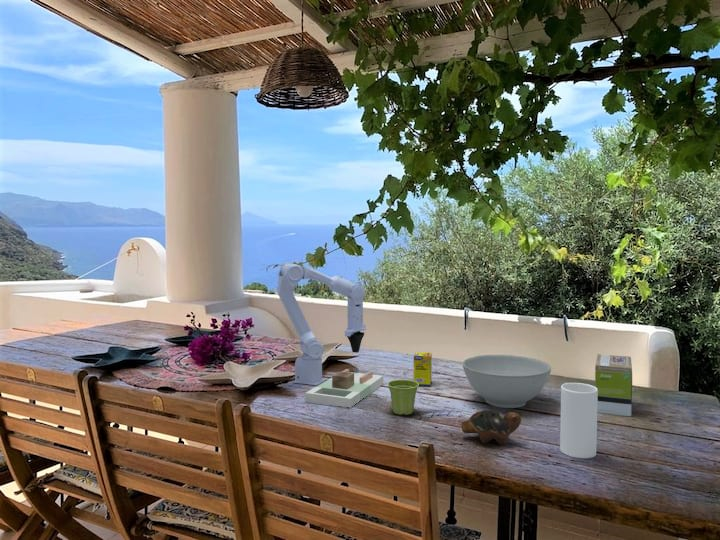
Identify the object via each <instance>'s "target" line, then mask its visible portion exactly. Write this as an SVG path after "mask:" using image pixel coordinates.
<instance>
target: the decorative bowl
mask: <svg viewBox="0 0 720 540" xmlns="http://www.w3.org/2000/svg"><path fill="white" fill-rule="evenodd" d="M462 367H463V371H464V374H465V376H466V379H467V381H468V382H469V385H470V386H471V387H472V388H473V390H474V391H475V392H476V393H477V394H478V395H480V396H481V397H482V398H484V400H485V402H486V404H488V405H491V406H493V407H498V408H504V409H515V408H516V409H518V408H522V407H525V406H526V405H527V402H528V401H530V400H532V399H533V398H535V397H536V396H537V395H539V394H540V392H541V391H542V390H543V389H544V387H545V385H547V382H548V380H549V377H550V375H551V371H552V367H551V365H550V364H548V363H547V362H545V361H543V360H540V359H536V358H532V357H527V356H521V355H513V354H484V355H482V354H481V355H477V356H471V357H469V358H468V357H467V358H466V359H464V360H463V362H462Z"/></svg>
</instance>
